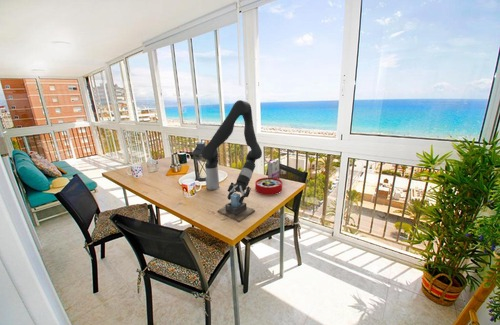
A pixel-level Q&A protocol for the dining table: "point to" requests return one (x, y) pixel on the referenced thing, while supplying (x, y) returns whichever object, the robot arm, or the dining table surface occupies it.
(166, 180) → the dining table surface
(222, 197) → the dining table surface
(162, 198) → the dining table surface
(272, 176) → the candy bar box
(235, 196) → the light blue square peg
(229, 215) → the cradle jig
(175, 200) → the dining table surface
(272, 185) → the toy clock
